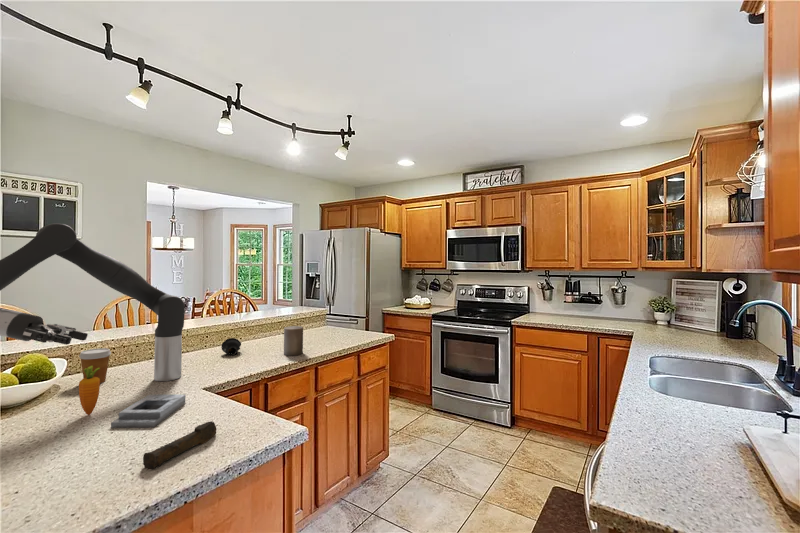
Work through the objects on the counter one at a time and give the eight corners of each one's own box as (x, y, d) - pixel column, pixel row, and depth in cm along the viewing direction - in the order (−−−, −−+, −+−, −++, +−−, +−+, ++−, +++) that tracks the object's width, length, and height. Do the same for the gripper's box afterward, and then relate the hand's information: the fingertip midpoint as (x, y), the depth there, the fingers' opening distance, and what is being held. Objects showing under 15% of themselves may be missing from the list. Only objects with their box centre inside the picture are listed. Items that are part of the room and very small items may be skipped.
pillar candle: (306, 353, 194) (307, 324, 194) (292, 356, 186) (292, 327, 186) (294, 350, 199) (294, 322, 199) (279, 354, 191) (279, 325, 191)
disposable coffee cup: (92, 387, 136) (93, 354, 136) (71, 384, 138) (72, 352, 138) (117, 379, 145) (117, 348, 145) (97, 377, 147) (97, 347, 147)
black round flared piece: (219, 348, 180) (216, 330, 195) (228, 365, 185) (224, 347, 200) (238, 340, 184) (234, 323, 198) (246, 357, 189) (242, 339, 203)
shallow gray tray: (149, 403, 122) (149, 394, 122) (185, 403, 123) (185, 394, 123) (110, 427, 104) (111, 417, 104) (153, 427, 105) (153, 417, 105)
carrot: (86, 411, 115) (87, 363, 115) (103, 411, 115) (104, 363, 115) (73, 418, 110) (74, 368, 110) (91, 418, 110) (92, 368, 110)
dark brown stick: (152, 473, 84) (153, 452, 84) (141, 468, 85) (141, 448, 85) (223, 437, 101) (223, 420, 101) (212, 434, 103) (213, 418, 103)
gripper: (2, 314, 102) (69, 329, 106) (37, 310, 116) (95, 324, 120) (-9, 340, 101) (59, 355, 105) (27, 334, 115) (86, 347, 119)
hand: (78, 339), depth 112 cm, fingers open, 8 cm apart
